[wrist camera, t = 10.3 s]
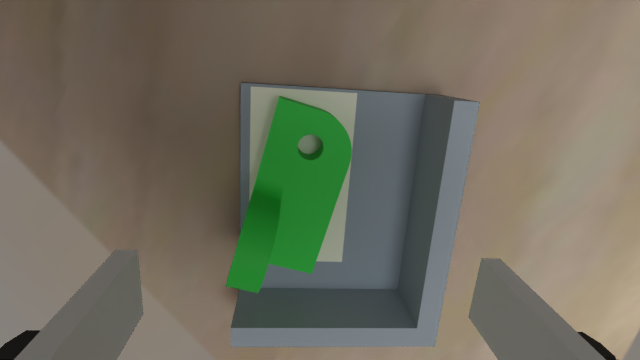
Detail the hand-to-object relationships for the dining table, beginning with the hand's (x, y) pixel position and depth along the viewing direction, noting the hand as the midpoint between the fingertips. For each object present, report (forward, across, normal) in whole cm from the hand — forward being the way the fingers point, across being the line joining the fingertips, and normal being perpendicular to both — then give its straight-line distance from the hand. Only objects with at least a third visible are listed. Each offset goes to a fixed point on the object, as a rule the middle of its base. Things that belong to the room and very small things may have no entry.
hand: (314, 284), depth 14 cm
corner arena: (+16, +3, -3) cm, 16 cm away
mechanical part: (+15, 0, -1) cm, 15 cm away
